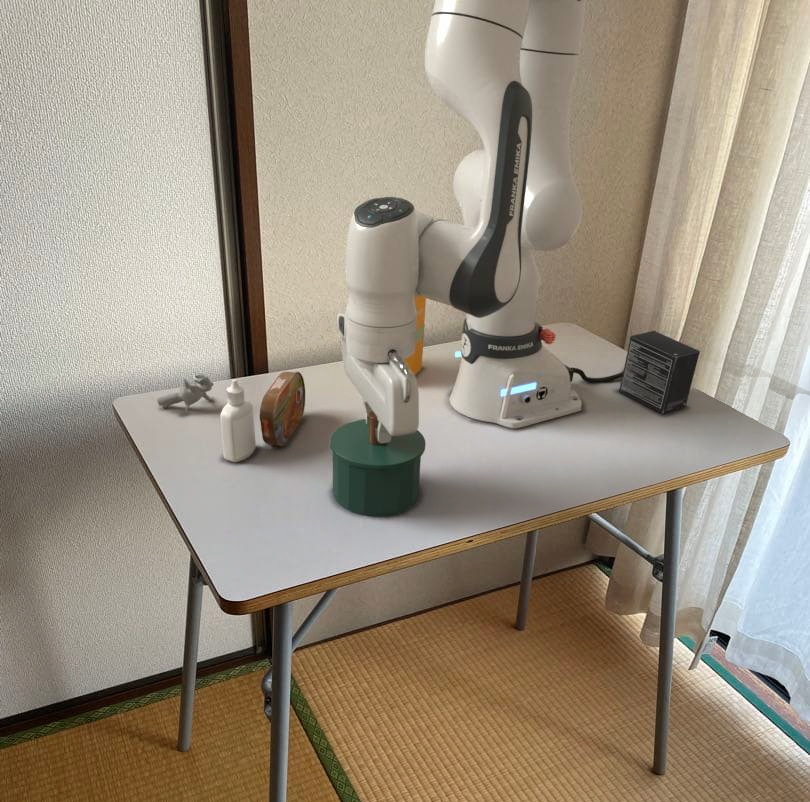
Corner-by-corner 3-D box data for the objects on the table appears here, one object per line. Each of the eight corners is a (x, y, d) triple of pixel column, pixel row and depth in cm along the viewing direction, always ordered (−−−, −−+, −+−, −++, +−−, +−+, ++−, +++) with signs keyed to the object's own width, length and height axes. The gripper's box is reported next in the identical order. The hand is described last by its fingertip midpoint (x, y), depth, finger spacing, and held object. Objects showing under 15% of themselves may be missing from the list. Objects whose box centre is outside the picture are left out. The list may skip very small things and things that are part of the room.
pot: (400, 465, 129) (403, 420, 125) (431, 508, 120) (434, 461, 116) (323, 477, 125) (322, 431, 121) (348, 522, 116) (348, 474, 112)
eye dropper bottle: (263, 455, 130) (259, 382, 123) (228, 465, 127) (222, 390, 120) (250, 443, 133) (245, 370, 126) (216, 452, 130) (209, 378, 123)
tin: (278, 456, 130) (275, 405, 125) (258, 453, 130) (255, 402, 125) (307, 411, 142) (306, 363, 137) (289, 409, 142) (287, 361, 137)
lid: (405, 420, 126) (406, 387, 123) (439, 464, 116) (442, 430, 113) (318, 432, 122) (318, 399, 119) (346, 479, 112) (346, 444, 109)
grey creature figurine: (168, 394, 145) (218, 377, 144) (177, 427, 144) (227, 411, 143) (141, 378, 135) (194, 360, 134) (150, 414, 135) (203, 396, 133)
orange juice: (422, 368, 158) (429, 258, 146) (402, 386, 151) (407, 273, 139) (383, 359, 160) (387, 250, 149) (362, 377, 153) (364, 264, 142)
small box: (688, 407, 149) (703, 350, 143) (662, 416, 146) (676, 357, 140) (642, 384, 156) (655, 328, 150) (617, 391, 153) (628, 335, 147)
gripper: (434, 367, 102) (428, 467, 111) (378, 306, 118) (375, 398, 126) (384, 373, 101) (381, 475, 109) (333, 310, 116) (334, 403, 124)
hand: (378, 433), depth 117 cm, fingers closed on lid, 2 cm apart
